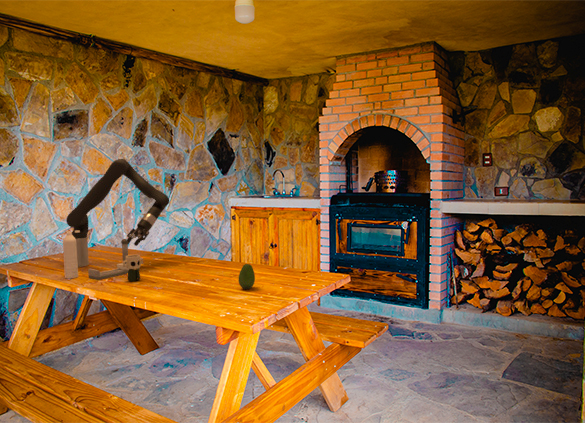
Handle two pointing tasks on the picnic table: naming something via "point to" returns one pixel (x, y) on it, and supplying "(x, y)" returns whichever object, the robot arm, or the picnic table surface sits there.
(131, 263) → the toy figurine
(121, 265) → the carriage
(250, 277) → the fruit
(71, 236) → the water bottle
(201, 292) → the picnic table surface
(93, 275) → the rail board
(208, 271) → the picnic table surface
